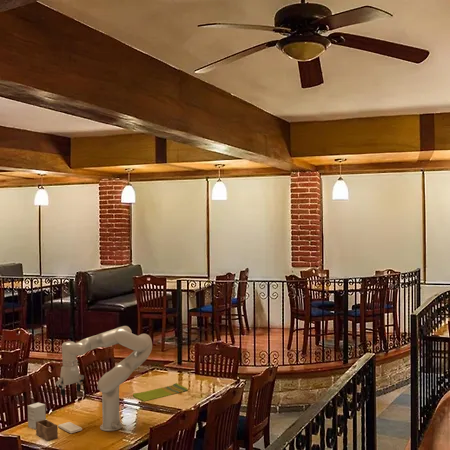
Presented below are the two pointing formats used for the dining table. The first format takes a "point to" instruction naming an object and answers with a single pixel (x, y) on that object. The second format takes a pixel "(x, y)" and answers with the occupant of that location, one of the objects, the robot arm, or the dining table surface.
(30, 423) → the supplement box
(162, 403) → the dining table surface
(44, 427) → the crate
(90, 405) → the dining table surface
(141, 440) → the dining table surface
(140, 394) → the dish towel
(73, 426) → the lid
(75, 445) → the dining table surface
